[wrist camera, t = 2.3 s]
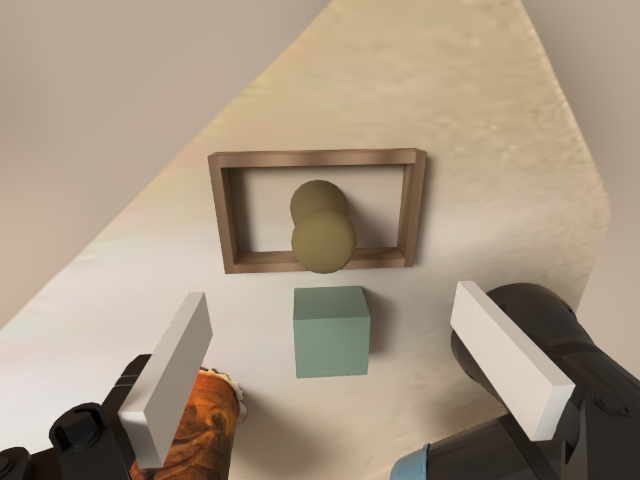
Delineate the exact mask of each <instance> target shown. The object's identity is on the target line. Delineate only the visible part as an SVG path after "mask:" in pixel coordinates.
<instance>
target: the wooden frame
mask: <svg viewBox="0 0 640 480" xmlns="http://www.w3.org/2000/svg"><path fill="white" fill-rule="evenodd" d="M426 155H427V152H425V151H422V150H419V149H417V148H402V149H351V150H301V151H250V152H215V153H213V154H211V155H209V156H208V163H209V170H210V176H211V183H212V190H213V196H214V203H215V209H216V216H217V223H218V229H219V236H220V242H221V249H222V255H223V262H224V269H225V274H237V273H263V272H290V271H310V270H307V269H306V268H304V267H303V266H302V265H301V264H300V263H299V262H298V260H297V258H296V257H295V255H294V253H293V251H274V252H245V253H239V248H238V240H237V232H236V224H235V216H234V209H233V201H232V193H231V185H230V177H229V169H228V167H269V166H314V165H359V164H405V165H404V176H403V186H402V197H401V208H400V218H399V229H398V240H397V247H389V248H360V249H355V253H354V256H353V257H352V259H351V260H350V262H349V263H348V264H347V265H346V266H344V267H343V268H342V269H340V270H343V269H369V268H395V267H413V263H414V255H415V247H416V238H417V230H418V222H419V213H420V205H421V197H422V188H423V180H424V172H425V163H426Z"/></svg>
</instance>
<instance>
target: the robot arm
mask: <svg viewBox="0 0 640 480" xmlns="http://www.w3.org/2000/svg"><path fill="white" fill-rule="evenodd" d="M450 324H451V326H452V327H453V332H452V336H451V347H452V351H453V354H454V356H455V358H456V359H457V361H458V363H459V364H460V366H461V367H462V369H463V370H464V372H465V373H466V374H467V375H468V376H469V377H470V378H472V379H473V380H474V381H476V382H477V383H479V384H481V385H482V386H483V387H484V388H485V389H486V390H487V391H488V392H489V393H491V394H492V395H493V396H494V397H495V398H496V399H498V400H499V401H500V402H501V403H502V404H503V405H504V407H505V408H506V410H507V411H508V414H506V415H504V416H501V417H499V418H495V419H493V420H490V421H488V422H485V423H483V424H480V425H478V426H475V427H473V428H470V429H468V430H465V431H463V432H460V433H458V434H455V435H452V436H450V437H447V438H445V439H442V440H440V441H437V442H435V443H432V444H430V443H429V444H426V445H424V446H423V448H421V449H419V450H417V451H415V452H413V453H411V454H409V455H407V456H404V457H402V458H401V459H399V460H398V461H397V462H396V463H395V465H394V466H393V468H392V471H391V474H390V480H640V381H639V380H638V379H637V378H635V377H634V376H633V375H632V374H630V373H629V372H628V371H627V370H625V369H624V368H623V367H622V366H620V365H619V364H618V363H617V362H615V361H614V360H613V359H611V358H610V357H609V356H608V355H606V354H605V353H604V352H603V351H602V350H600V349H599V348H598V347H597V346H596V345H595V344H594V342H593V341H592V340H591V338H590V337H589V335H588V334H587V332H586V331H585V330H584V328H583V327H582V326H581V325H580V324H579V323H578V321H577V318H576V316H575V314H574V312H573V311H572V309H571V308H570V306H569V305H568V304H567V303H566V302H565V301H563V300H562V299H561V298H559V297H558V296H557V295H555V294H554V293H553V292H551V291H550V290H548V289H546V288H544V287H542V286H539V285H535V284H527V283H520V284H511V285H506V286H503V287H500V288H497V289H494V290H492V291H490V292H488V293H486V294H485V293H484V292H483V291H482V290H481V289H480V288H479V287H478V286H477V285H476V284H475V283H474V282H473V281H458V285H457V290H456V295H455V300H454V305H453V311H452V316H451V321H450ZM212 336H213V334H212V329H211V324H210V319H209V314H208V308H207V303H206V298H205V293H204V292H192V293H188V295H187V297H186V298H185V300H184V302H183V303H182V305H181V307H180V308H179V310H178V312H177V313H176V315H175V317H174V319H173V320H172V322H171V324H170V325H169V327H168V329H167V330H166V332H165V334H164V335H163V337H162V339H161V340H160V342H159V344H158V346H157V347H156V349H155V351H154V352H153V354H144V355H139V356H138V357H136V358H135V359H134V360H133V361H132V362H131V363H129V364H128V366H127V367H126V369H125V370H124V372H123V373H122V375H121V378H119V379H118V381H117V382H116V384H115V387H113V388H112V390H111V391H110V393H109V394H108V396H107V397H106V399H105V400H104V402H103V403H102V405H100V404H98V403H93V402H90V403H84V404H81V405H78V406H76V407H73V408H72V409H70V410H69V411H67V412H65V413H64V414H63V415H62V416H60V417H59V418H58V419H57V420H56V421H55V422H54V424H53V425H52V427H51V429H50V431H49V439H50V441H51V443H52V444H53V446H54V447H53V448H50V449H47V450H44V451H41V452H38V453H35V454H32V455H30V453H29V452H28V451H27V450H26V449H25V448H24V447H13V448H9V449H5V450H3V451H1V452H0V480H133V479H132V477H131V474H130V472H129V471H130V469H131V467H132V465H133V463H134V460H135V458H136V461H137V463H138V466H139V468H140V469H144V468H158V467H163V465H164V462H165V459H166V457H167V454H168V452H169V449H170V446H171V444H172V441H173V438H174V436H175V433H176V430H177V428H178V425H179V423H180V420H181V417H182V415H183V412H184V409H185V407H186V404H187V402H188V399H189V396H190V394H191V391H192V388H193V386H194V383H195V380H196V378H197V375H198V373H199V370H200V367H201V365H202V362H203V359H204V357H205V354H206V351H207V349H208V346H209V344H210V341H211V338H212Z"/></svg>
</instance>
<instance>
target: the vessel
mask: <svg viewBox="0 0 640 480" xmlns="http://www.w3.org/2000/svg"><path fill="white" fill-rule="evenodd" d="M242 394H243V391H242V390H241V389H240V388H239V386H238V381H237V380H233V381H229V379H228V377H227V375H226V374H216V373H215V372H214V371H212V370H209V371H208V372H206V371H203V370H201V369H200V370H199V373H198V375H197V378H196V380H195V383H194V386H193V388H192V391H191V394H190V396H189V399H188V402H187V404H186V407H185V409H184V412H183V415H182V417H181V420H180V423H179V425H178V428H177V430H176V433H175V436H174V438H173V441H172V444H171V446H170V449H169V452H168V454H167V457H166V459H165V462H164V465H163V467H158V468H144V469H140V468H139V466H138V463H137V461H136V458H135V460H134V463H133V465H132V467H131V469H130V471H129V472H130V474H131V477H132V479H133V480H228V474H229V467H230V461H231V452H232V447H233V440H234V434H235V427H236V425H237V424H240V423H243V422H245V417H246V414H247V410H246V406H245V405H244V404H243V403H242V402H240V401H239V400H242V399H244V397H243V396H242Z"/></svg>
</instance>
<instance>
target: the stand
mask: <svg viewBox="0 0 640 480" xmlns="http://www.w3.org/2000/svg"><path fill="white" fill-rule="evenodd" d="M293 323H294V341H295V359H296V376H297V378H313V377H332V376H350V375H367V371H368V355H369V340H370V324H371V315H370V312H369V309H368V306H367V303H366V300H365V297H364V294H363V291H362V288H361V286H346V287H322V288H297V289H294V315H293Z"/></svg>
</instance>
